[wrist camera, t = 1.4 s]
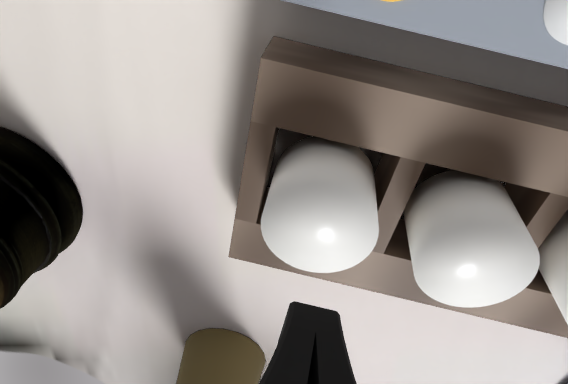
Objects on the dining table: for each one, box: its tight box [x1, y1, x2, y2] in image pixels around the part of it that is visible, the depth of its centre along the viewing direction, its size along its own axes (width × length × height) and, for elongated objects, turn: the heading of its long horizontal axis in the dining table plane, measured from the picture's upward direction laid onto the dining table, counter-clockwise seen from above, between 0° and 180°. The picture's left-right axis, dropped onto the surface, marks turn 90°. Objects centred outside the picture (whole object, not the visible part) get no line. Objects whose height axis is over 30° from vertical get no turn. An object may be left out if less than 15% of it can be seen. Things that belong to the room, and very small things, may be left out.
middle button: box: [404, 170, 540, 308], centre depth 17 cm, size 4×4×4 cm
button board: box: [229, 36, 568, 338], centre depth 19 cm, size 19×10×3 cm, turn 79°
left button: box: [261, 136, 379, 273], centre depth 17 cm, size 4×4×4 cm
